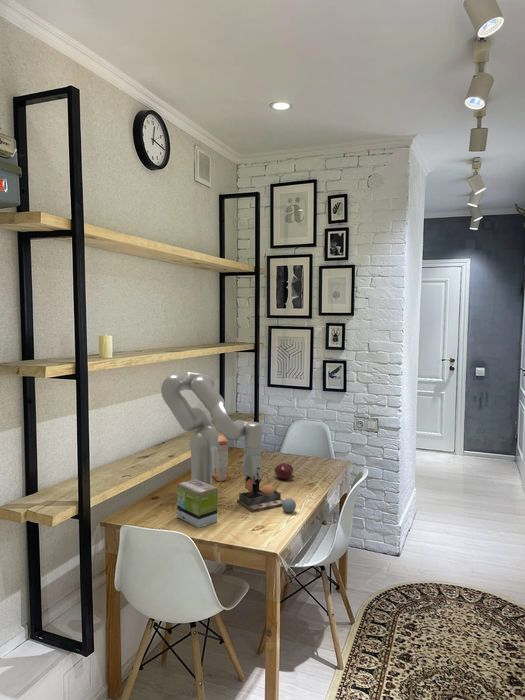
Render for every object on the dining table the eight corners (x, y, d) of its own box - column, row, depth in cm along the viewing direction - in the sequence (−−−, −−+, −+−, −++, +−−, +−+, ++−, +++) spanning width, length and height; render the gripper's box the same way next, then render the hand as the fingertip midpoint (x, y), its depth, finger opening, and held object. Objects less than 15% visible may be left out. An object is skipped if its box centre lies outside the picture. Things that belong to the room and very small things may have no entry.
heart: (271, 479, 269) (290, 483, 268) (273, 464, 269) (293, 468, 268) (274, 473, 281) (292, 476, 280) (276, 459, 281) (294, 462, 280)
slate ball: (286, 515, 223) (287, 501, 223) (279, 511, 228) (279, 497, 228) (298, 513, 226) (298, 499, 226) (290, 508, 231) (290, 495, 231)
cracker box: (228, 480, 269) (228, 440, 268) (216, 482, 267) (217, 441, 265) (220, 473, 282) (220, 434, 281) (209, 474, 280) (209, 435, 278)
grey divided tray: (252, 512, 226) (252, 502, 226) (237, 502, 238) (237, 493, 238) (287, 505, 235) (287, 496, 235) (270, 495, 247) (271, 487, 247)
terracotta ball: (249, 494, 232) (250, 481, 232) (243, 490, 237) (243, 477, 237) (261, 492, 235) (261, 479, 235) (254, 488, 240) (255, 475, 240)
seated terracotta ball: (265, 501, 236) (265, 488, 236) (258, 497, 241) (258, 484, 241) (276, 499, 239) (276, 486, 239) (269, 495, 245) (269, 482, 244)
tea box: (176, 517, 219) (176, 482, 218) (195, 511, 226) (195, 477, 225) (198, 528, 208) (198, 492, 207) (218, 522, 215) (218, 486, 214)
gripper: (236, 446, 240) (235, 486, 241) (255, 455, 226) (254, 497, 227) (250, 445, 244) (250, 483, 245) (270, 453, 229) (269, 494, 231)
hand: (252, 489), depth 236 cm, fingers closed on terracotta ball, 5 cm apart
